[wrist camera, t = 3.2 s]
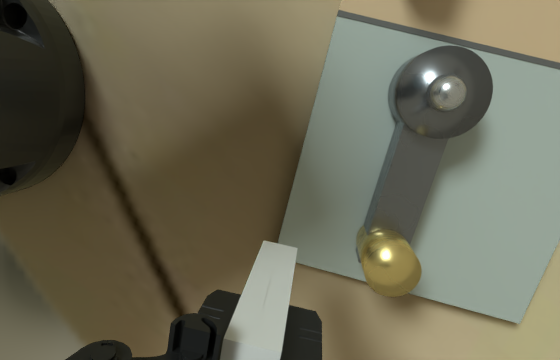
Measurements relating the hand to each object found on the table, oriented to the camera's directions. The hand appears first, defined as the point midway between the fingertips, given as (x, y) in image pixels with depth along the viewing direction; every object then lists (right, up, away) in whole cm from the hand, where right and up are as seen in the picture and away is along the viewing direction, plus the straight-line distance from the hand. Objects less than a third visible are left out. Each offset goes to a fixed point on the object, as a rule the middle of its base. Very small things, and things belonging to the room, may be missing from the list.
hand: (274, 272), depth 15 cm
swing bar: (+7, +5, +5) cm, 10 cm away
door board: (+11, +9, +6) cm, 15 cm away
